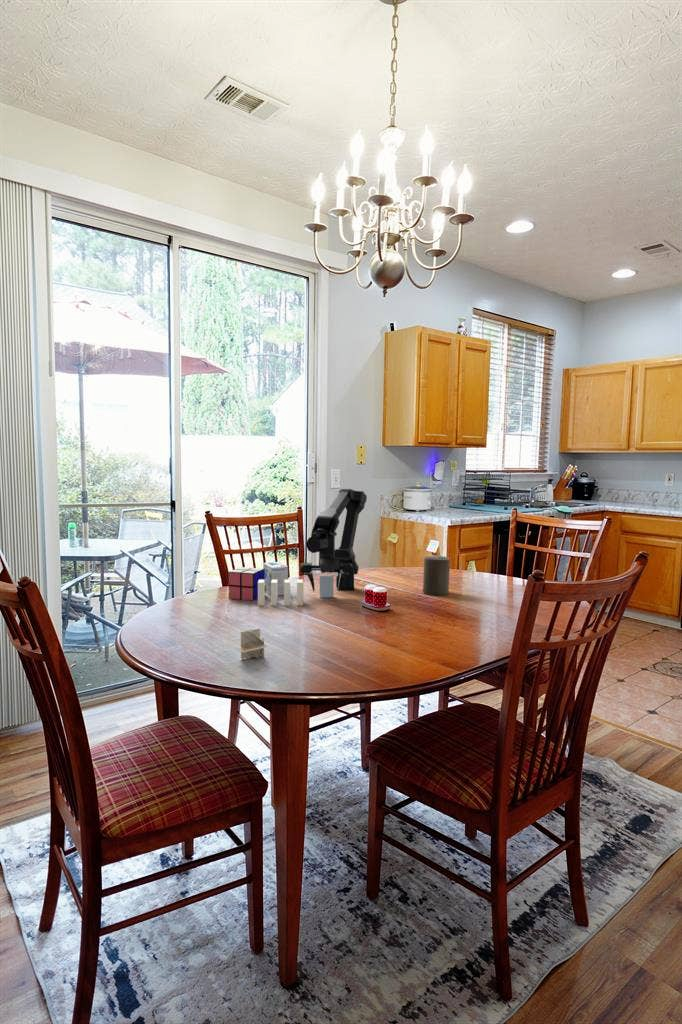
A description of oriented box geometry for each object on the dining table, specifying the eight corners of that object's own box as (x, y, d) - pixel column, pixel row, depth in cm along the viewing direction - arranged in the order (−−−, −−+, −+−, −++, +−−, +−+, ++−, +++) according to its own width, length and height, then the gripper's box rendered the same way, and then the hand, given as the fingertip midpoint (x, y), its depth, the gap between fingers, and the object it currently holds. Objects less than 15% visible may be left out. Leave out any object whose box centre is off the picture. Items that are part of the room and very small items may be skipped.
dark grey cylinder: (431, 596, 216) (433, 556, 215) (418, 591, 225) (419, 552, 224) (453, 595, 220) (455, 555, 219) (439, 589, 229) (441, 551, 227)
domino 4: (303, 601, 207) (303, 579, 206) (302, 605, 202) (302, 582, 201) (297, 601, 207) (297, 579, 206) (297, 605, 202) (297, 582, 201)
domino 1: (264, 601, 206) (264, 579, 206) (263, 605, 201) (263, 582, 201) (259, 601, 206) (258, 579, 206) (257, 605, 201) (257, 582, 201)
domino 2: (277, 601, 207) (277, 579, 206) (276, 605, 202) (276, 582, 201) (271, 601, 207) (271, 579, 206) (270, 605, 202) (270, 582, 201)
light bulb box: (262, 590, 224) (262, 562, 223) (279, 588, 227) (279, 561, 226) (271, 596, 215) (271, 567, 214) (288, 594, 218) (288, 566, 217)
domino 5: (319, 596, 215) (319, 575, 214) (333, 596, 215) (333, 575, 215) (319, 597, 213) (319, 576, 212) (333, 597, 213) (333, 576, 213)
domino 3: (290, 601, 207) (290, 579, 206) (289, 605, 202) (289, 582, 201) (284, 601, 207) (284, 579, 206) (284, 605, 202) (284, 582, 201)
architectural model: (267, 659, 148) (267, 631, 147) (243, 665, 144) (243, 636, 143) (260, 655, 151) (260, 627, 150) (236, 661, 147) (236, 632, 146)
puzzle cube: (253, 601, 207) (253, 573, 206) (228, 599, 210) (228, 571, 209) (265, 595, 217) (265, 568, 216) (240, 593, 220) (240, 566, 219)
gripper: (300, 552, 204) (300, 596, 205) (354, 552, 205) (353, 596, 206) (301, 547, 215) (301, 589, 217) (351, 547, 216) (351, 589, 218)
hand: (326, 591), depth 214 cm, fingers open, 9 cm apart
